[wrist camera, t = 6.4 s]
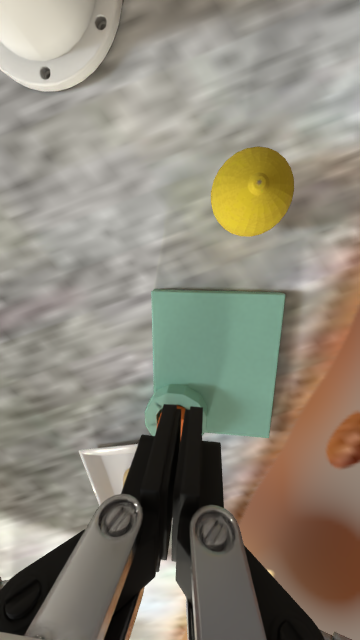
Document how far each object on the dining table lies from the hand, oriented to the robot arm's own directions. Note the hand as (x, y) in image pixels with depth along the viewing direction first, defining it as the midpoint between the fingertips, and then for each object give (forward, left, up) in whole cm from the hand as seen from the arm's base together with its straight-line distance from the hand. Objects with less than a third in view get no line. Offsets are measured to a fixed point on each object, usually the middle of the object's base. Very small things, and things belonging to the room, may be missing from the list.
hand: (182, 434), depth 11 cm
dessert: (+20, -7, -16) cm, 26 cm away
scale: (+4, +1, -15) cm, 16 cm away
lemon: (-11, +3, -16) cm, 20 cm away
